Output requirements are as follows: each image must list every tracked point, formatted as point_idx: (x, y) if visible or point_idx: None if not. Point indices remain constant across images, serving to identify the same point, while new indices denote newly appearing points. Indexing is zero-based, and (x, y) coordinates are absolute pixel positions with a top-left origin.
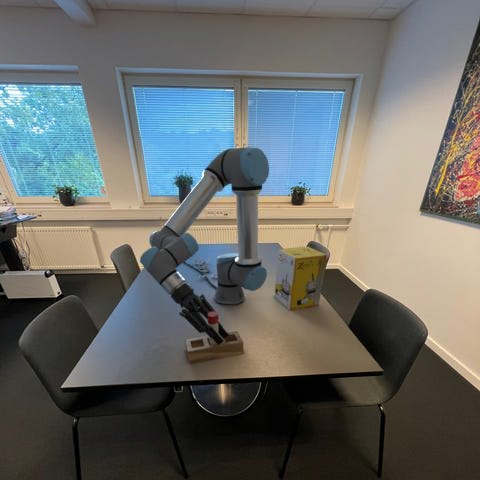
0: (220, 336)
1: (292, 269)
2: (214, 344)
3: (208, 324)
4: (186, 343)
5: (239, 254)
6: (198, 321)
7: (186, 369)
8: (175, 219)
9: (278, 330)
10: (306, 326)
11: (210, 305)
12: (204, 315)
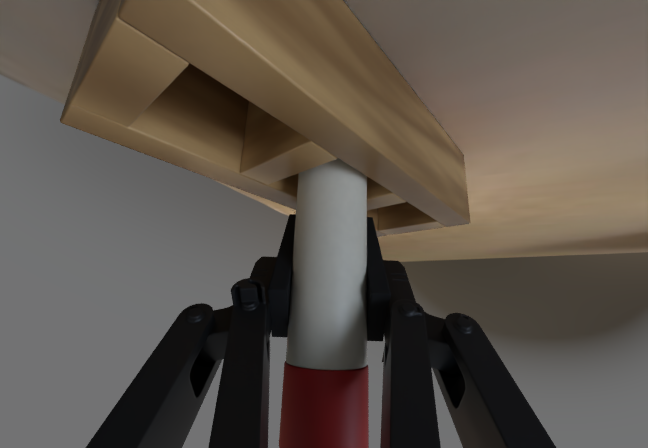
0: (393, 198)
1: None
2: (293, 196)
3: (295, 347)
4: (107, 50)
5: None
6: (178, 438)
7: (38, 26)
8: None
9: (544, 215)
10: (549, 238)
11: None
12: (388, 415)
